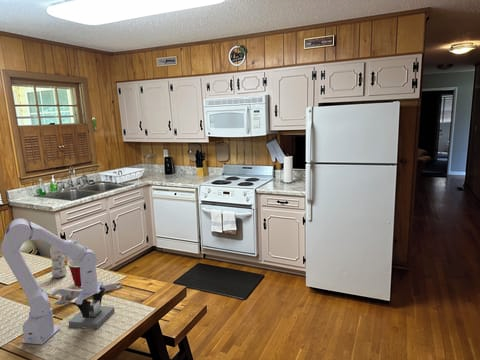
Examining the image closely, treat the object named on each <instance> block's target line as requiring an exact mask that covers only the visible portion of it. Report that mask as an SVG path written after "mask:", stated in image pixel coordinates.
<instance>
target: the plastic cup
mask: <svg viewBox="0 0 480 360" xmlns="http://www.w3.org/2000/svg"><path fill="white" fill-rule="evenodd" d="M66 263H67V266H68V268H69V271H70V273H71V277H72V280H73V283H74V286H75V287H76V286H78V287H77V288H82V287H81V276H80V261H75V260H73V259H70V260H68V261H67V262H66Z"/></svg>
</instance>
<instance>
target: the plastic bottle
mask: <svg viewBox="0 0 480 360" xmlns="http://www.w3.org/2000/svg"><path fill="white" fill-rule="evenodd" d="M49 254H50V257H51V275H52V277H53V278H55V279H58V278H63V277H64V276H65V275H66V274H67V267H66V264H65V255H63V254H61V253H60V249H59V248H58V247H56V246H53V245H51V246H50V248H49Z"/></svg>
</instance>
